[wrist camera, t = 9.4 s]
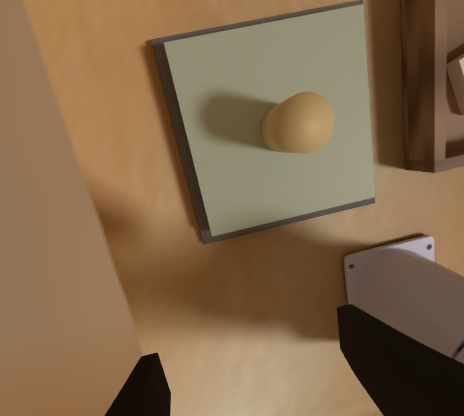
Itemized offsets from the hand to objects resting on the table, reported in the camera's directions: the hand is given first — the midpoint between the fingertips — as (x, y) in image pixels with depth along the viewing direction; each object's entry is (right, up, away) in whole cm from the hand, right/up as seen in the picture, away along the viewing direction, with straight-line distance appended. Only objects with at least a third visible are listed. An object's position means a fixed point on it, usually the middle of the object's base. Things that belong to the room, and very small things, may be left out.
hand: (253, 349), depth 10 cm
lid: (+2, +11, +8) cm, 14 cm away
